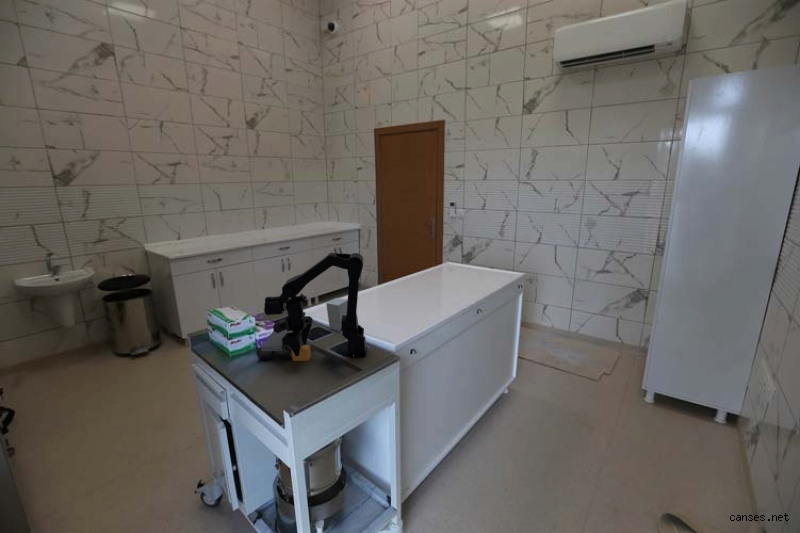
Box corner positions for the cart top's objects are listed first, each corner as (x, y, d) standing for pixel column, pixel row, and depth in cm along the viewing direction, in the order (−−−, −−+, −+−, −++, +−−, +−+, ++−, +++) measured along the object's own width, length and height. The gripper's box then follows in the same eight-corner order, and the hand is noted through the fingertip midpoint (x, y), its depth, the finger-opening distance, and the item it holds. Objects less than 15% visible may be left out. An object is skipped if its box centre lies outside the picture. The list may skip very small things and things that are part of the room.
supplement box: (352, 325, 167) (349, 299, 164) (341, 331, 161) (338, 305, 158) (339, 322, 171) (336, 297, 168) (328, 328, 165) (325, 302, 162)
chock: (311, 355, 143) (309, 345, 142) (308, 360, 139) (306, 350, 138) (296, 355, 144) (294, 345, 142) (293, 361, 140) (291, 350, 138)
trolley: (302, 342, 154) (300, 328, 152) (290, 361, 140) (287, 345, 138) (272, 343, 155) (269, 329, 153) (257, 361, 141) (254, 346, 139)
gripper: (283, 303, 146) (288, 339, 150) (264, 324, 128) (271, 363, 132) (310, 302, 145) (315, 338, 149) (295, 323, 127) (301, 362, 131)
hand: (301, 349), depth 140 cm, fingers open, 9 cm apart
